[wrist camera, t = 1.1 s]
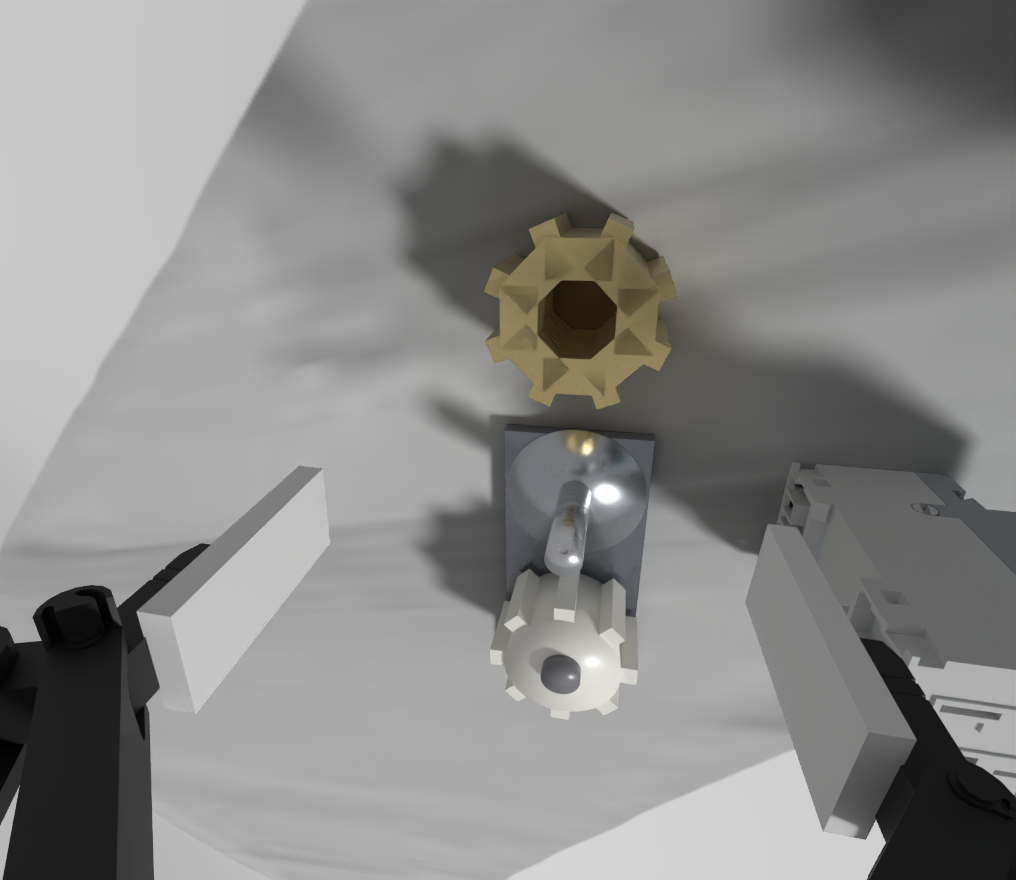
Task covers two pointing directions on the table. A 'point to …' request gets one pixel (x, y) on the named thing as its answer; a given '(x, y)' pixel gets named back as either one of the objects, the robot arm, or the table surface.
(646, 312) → the brass gear
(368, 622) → the table surface
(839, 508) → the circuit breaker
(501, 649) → the gear
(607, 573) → the gear plate
